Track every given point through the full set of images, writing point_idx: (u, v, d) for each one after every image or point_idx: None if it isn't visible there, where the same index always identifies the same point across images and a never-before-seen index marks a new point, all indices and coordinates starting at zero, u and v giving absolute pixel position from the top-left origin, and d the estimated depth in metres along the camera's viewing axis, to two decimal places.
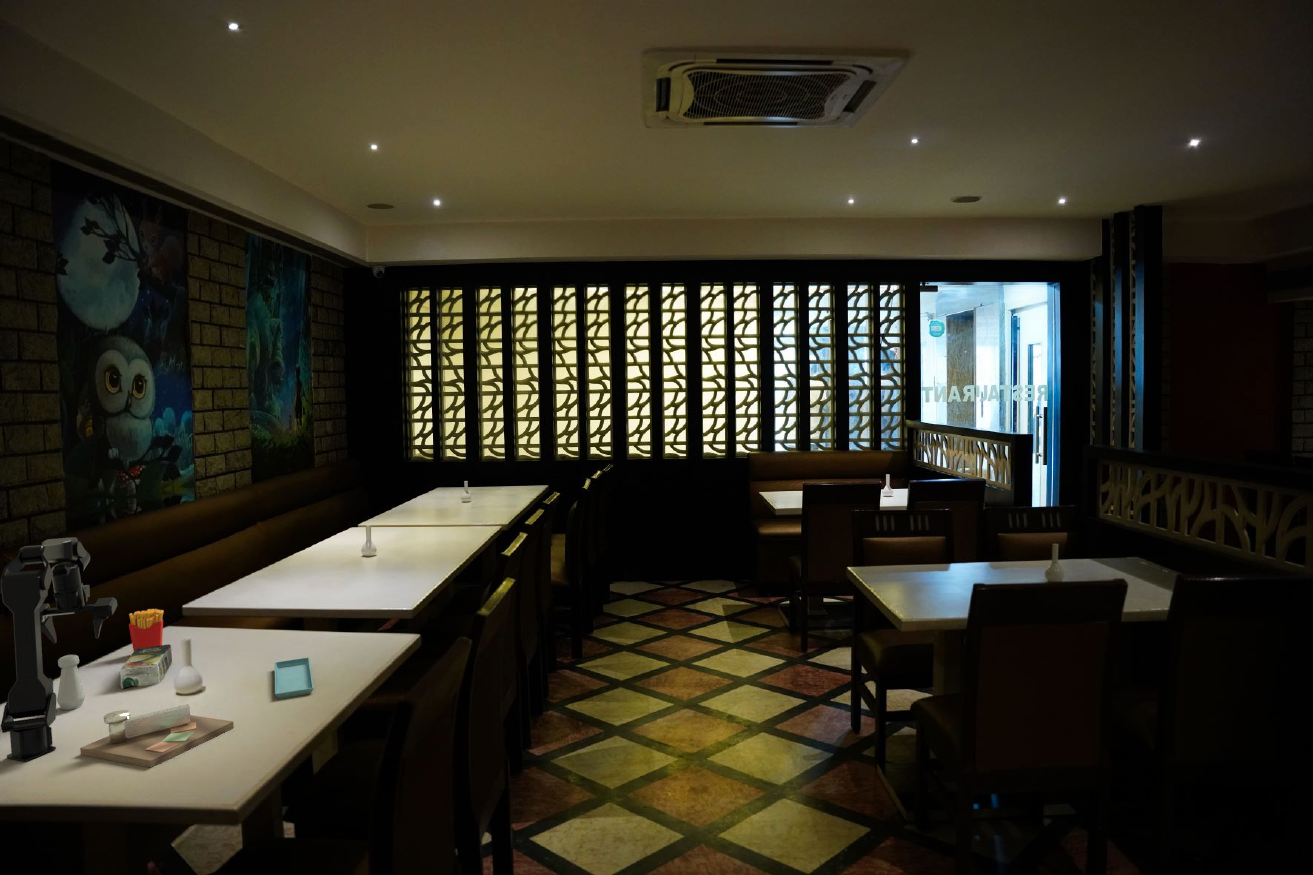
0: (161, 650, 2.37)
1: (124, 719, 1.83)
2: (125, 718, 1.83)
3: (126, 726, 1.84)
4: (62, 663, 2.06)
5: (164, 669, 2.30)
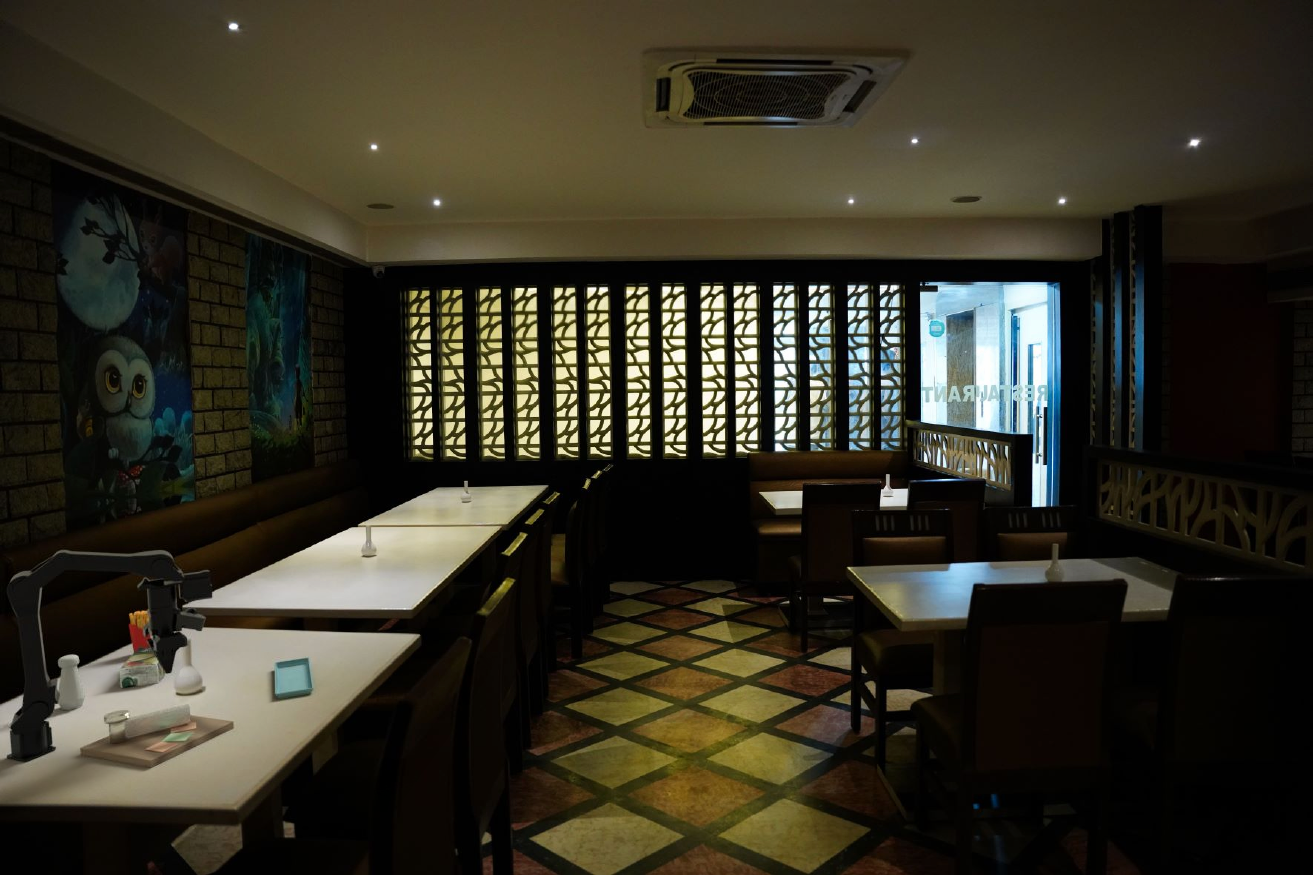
0: None
1: (124, 719, 1.83)
2: (125, 718, 1.83)
3: (126, 726, 1.84)
4: (62, 663, 2.06)
5: None
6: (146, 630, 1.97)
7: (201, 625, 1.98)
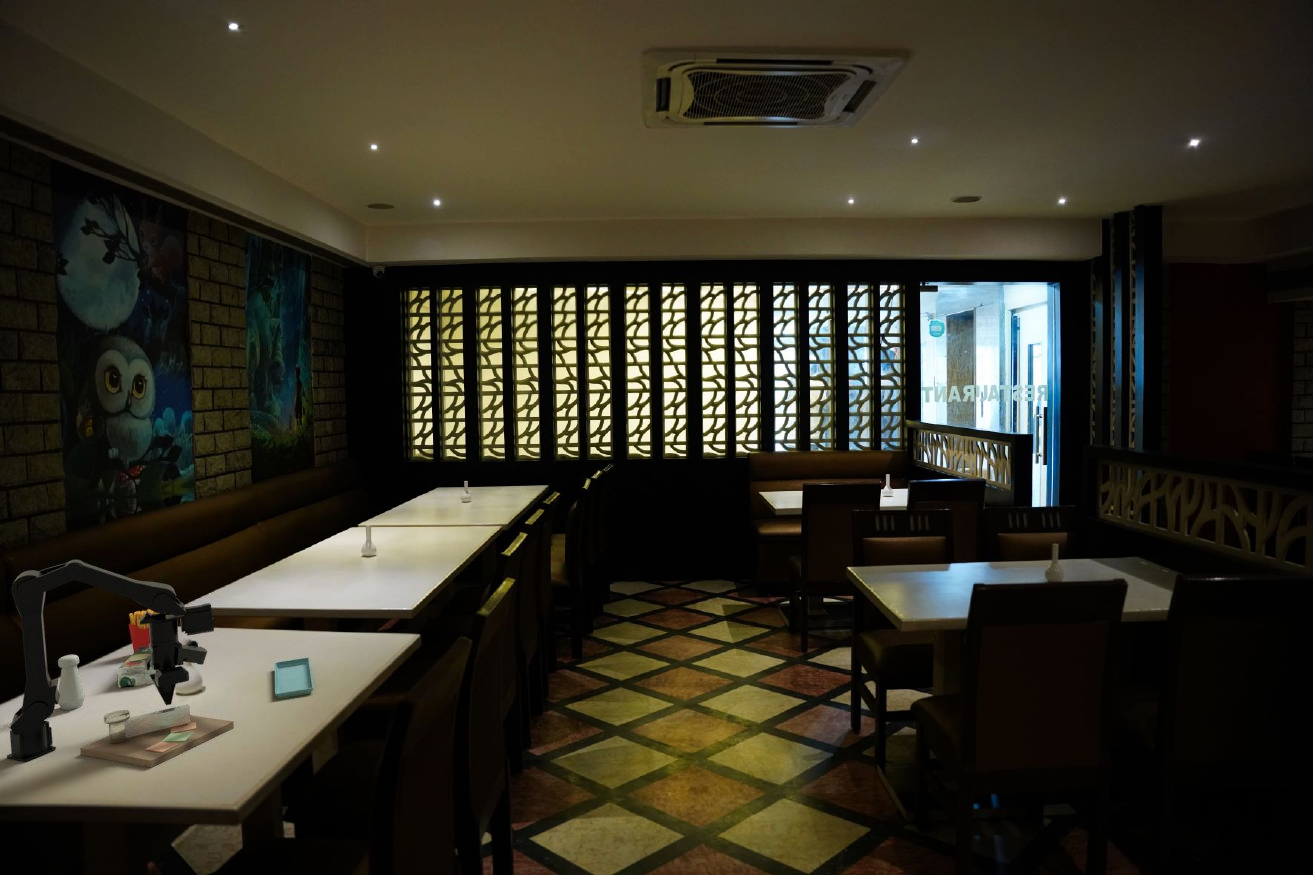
0: None
1: (124, 719, 1.83)
2: (125, 718, 1.83)
3: (126, 726, 1.84)
4: (62, 663, 2.06)
5: None
6: (148, 663, 1.97)
7: (203, 658, 1.98)
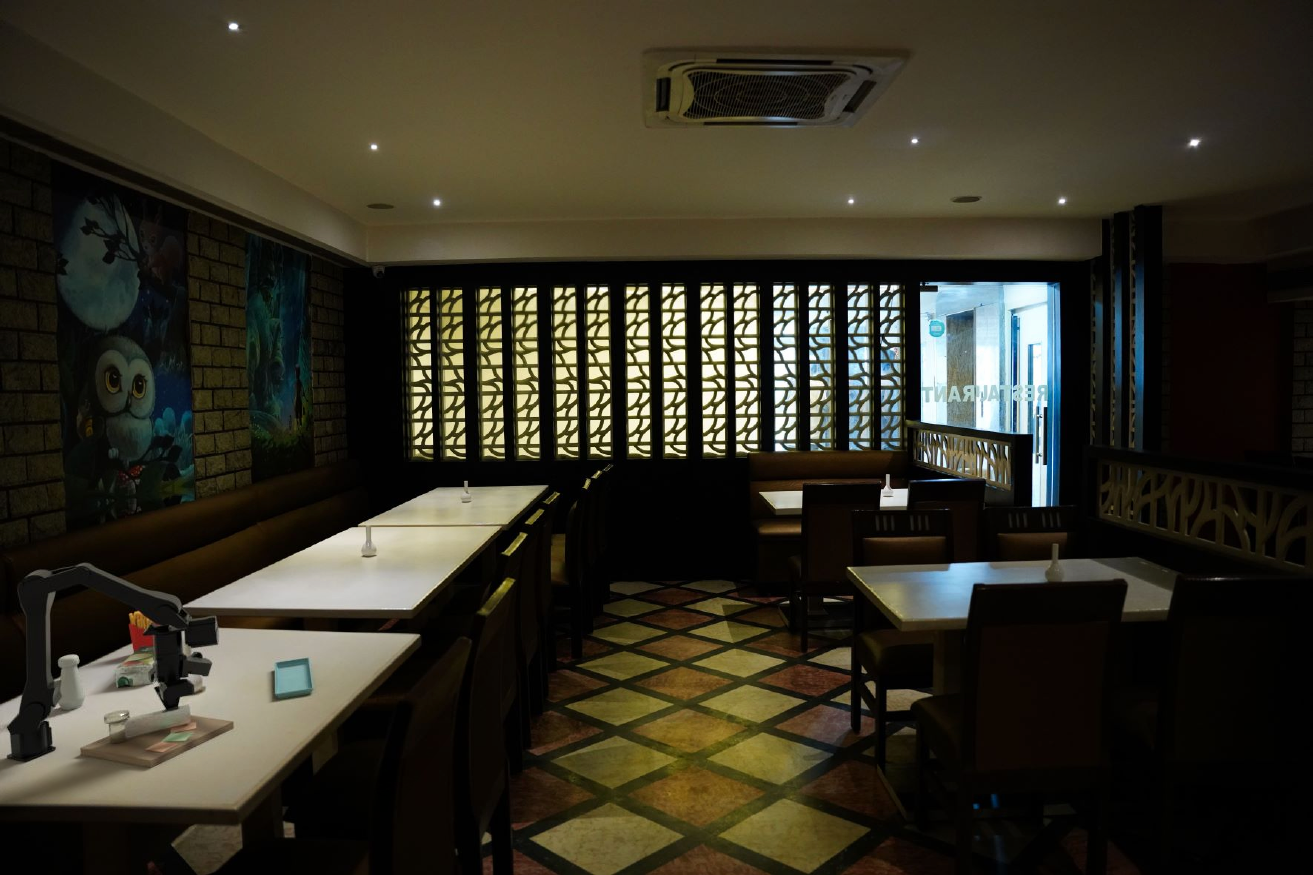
0: None
1: (124, 719, 1.83)
2: (125, 718, 1.83)
3: (126, 726, 1.84)
4: (62, 663, 2.06)
5: None
6: (152, 675, 1.94)
7: (208, 670, 1.95)
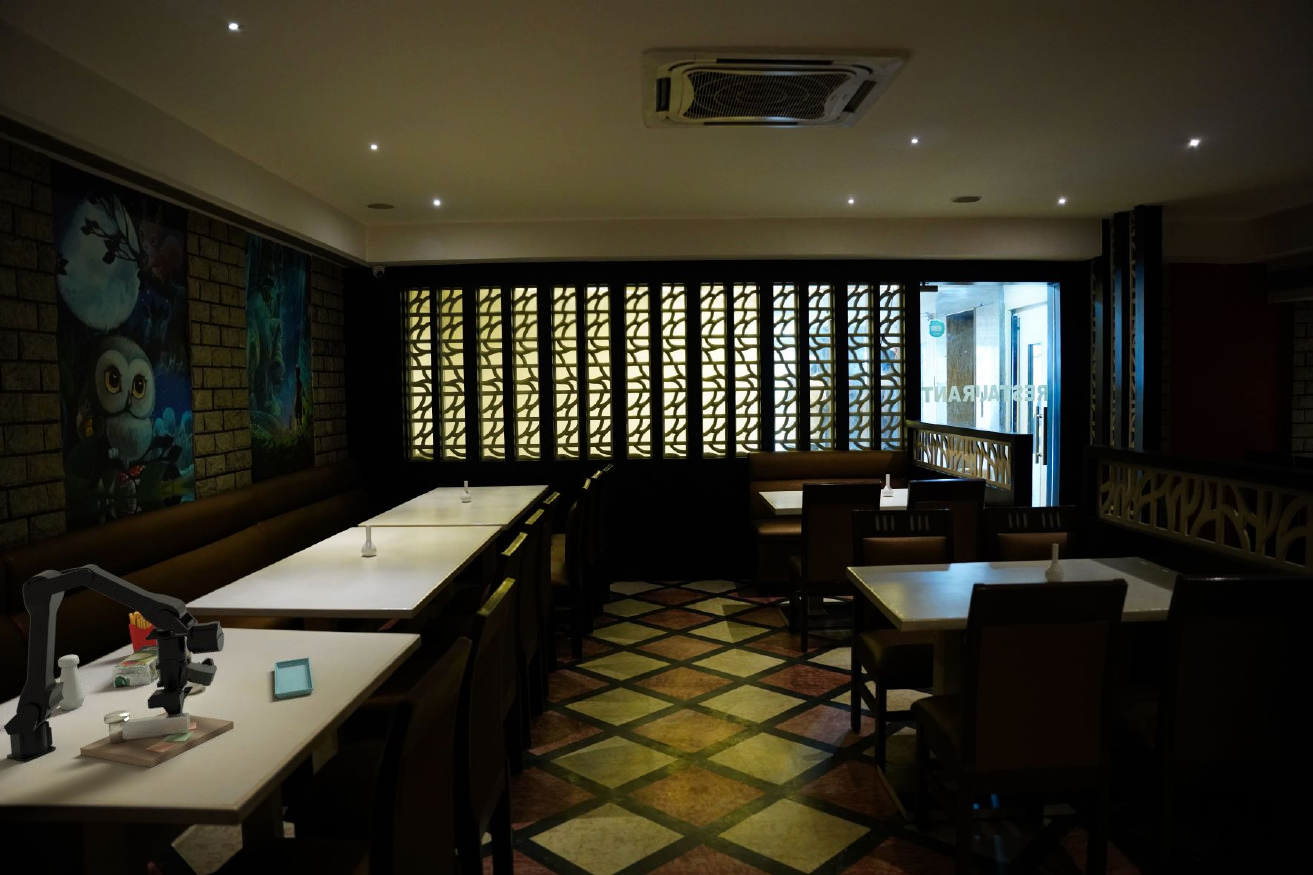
0: None
1: (119, 721, 1.82)
2: (120, 720, 1.82)
3: (123, 728, 1.83)
4: (62, 663, 2.06)
5: None
6: None
7: (207, 680, 1.88)
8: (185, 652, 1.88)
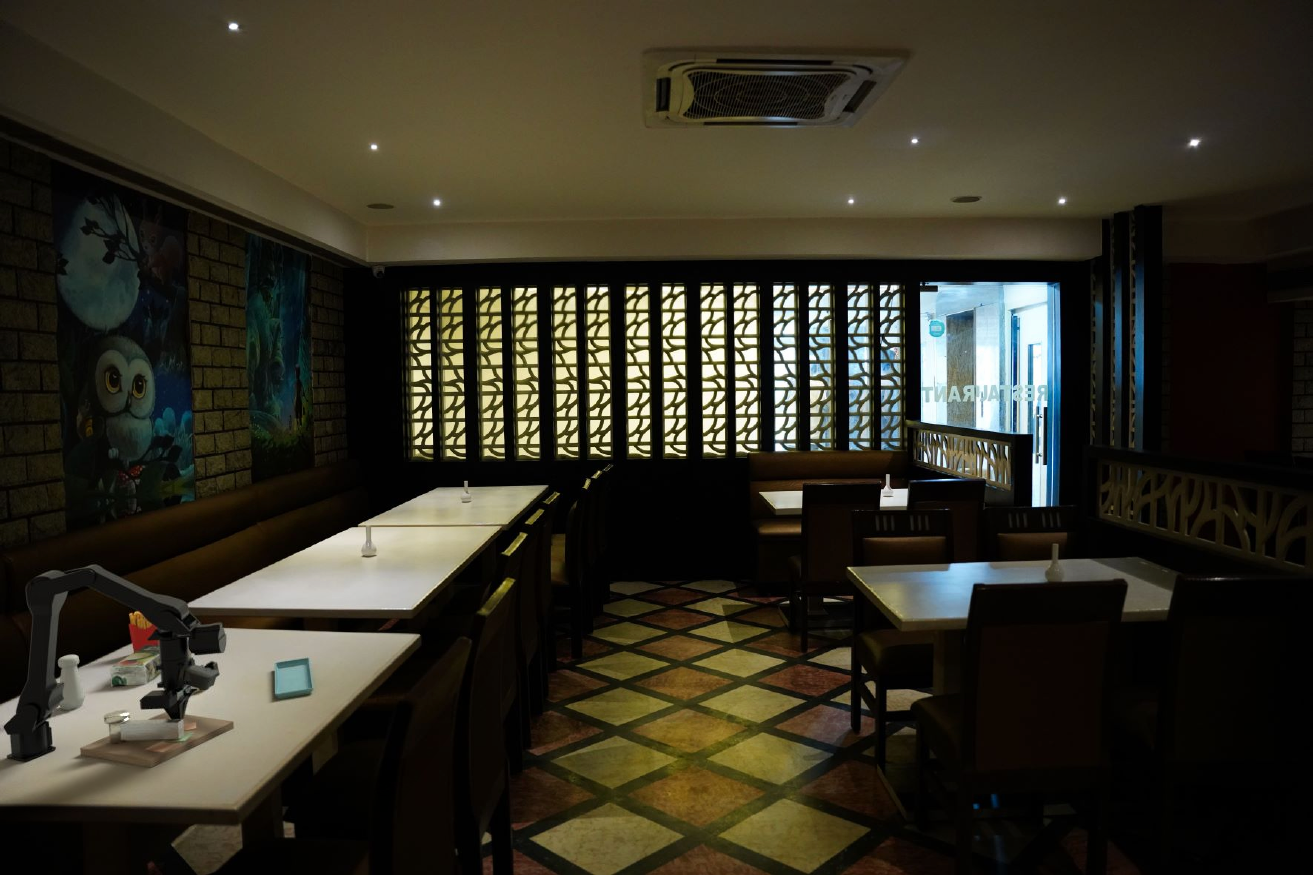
0: None
1: (115, 721, 1.81)
2: (117, 721, 1.82)
3: (121, 729, 1.83)
4: (62, 663, 2.06)
5: None
6: None
7: (204, 684, 1.86)
8: (187, 653, 1.88)
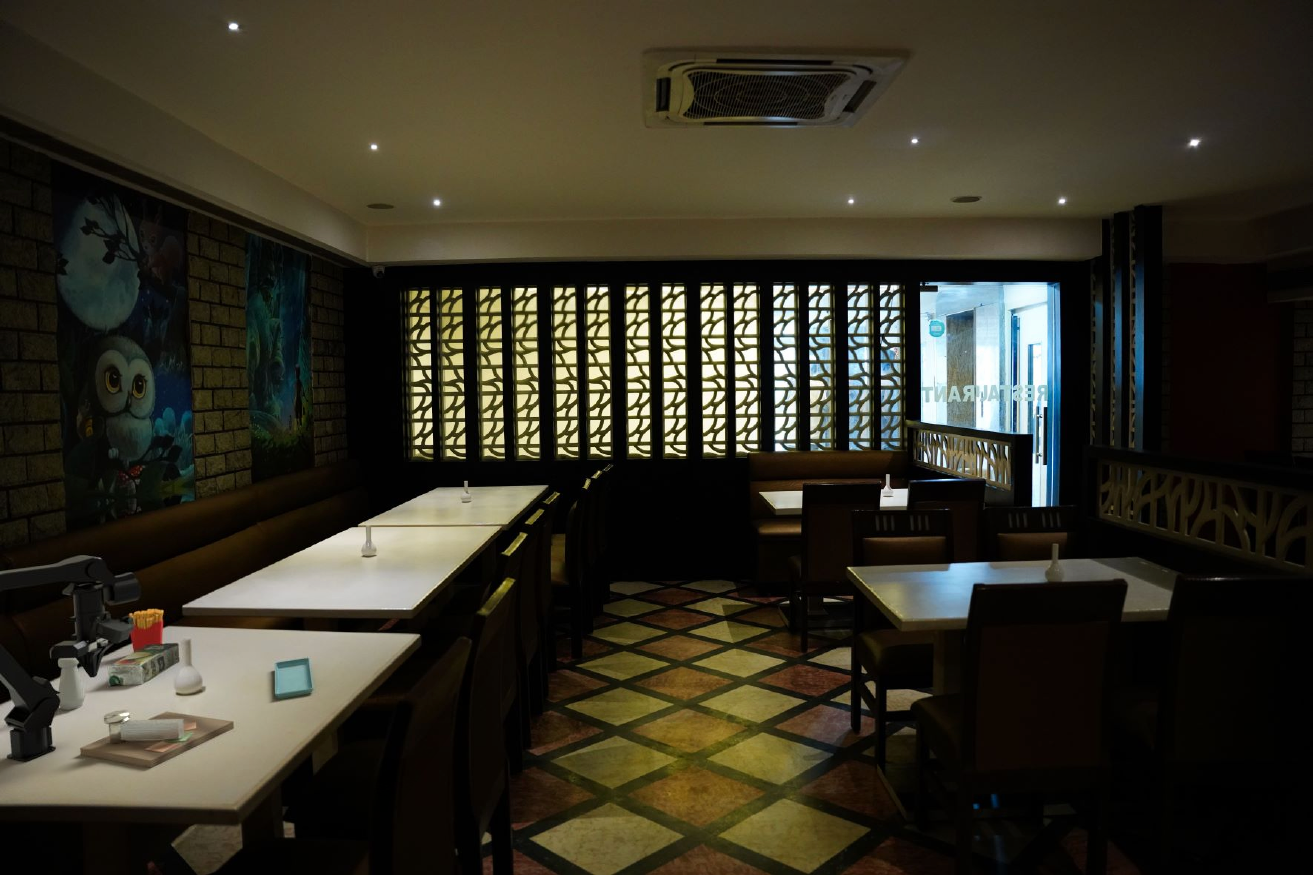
0: (162, 648, 2.38)
1: (115, 721, 1.81)
2: (117, 721, 1.82)
3: (121, 729, 1.83)
4: (62, 663, 2.06)
5: (154, 669, 2.30)
6: None
7: (116, 637, 1.90)
8: None
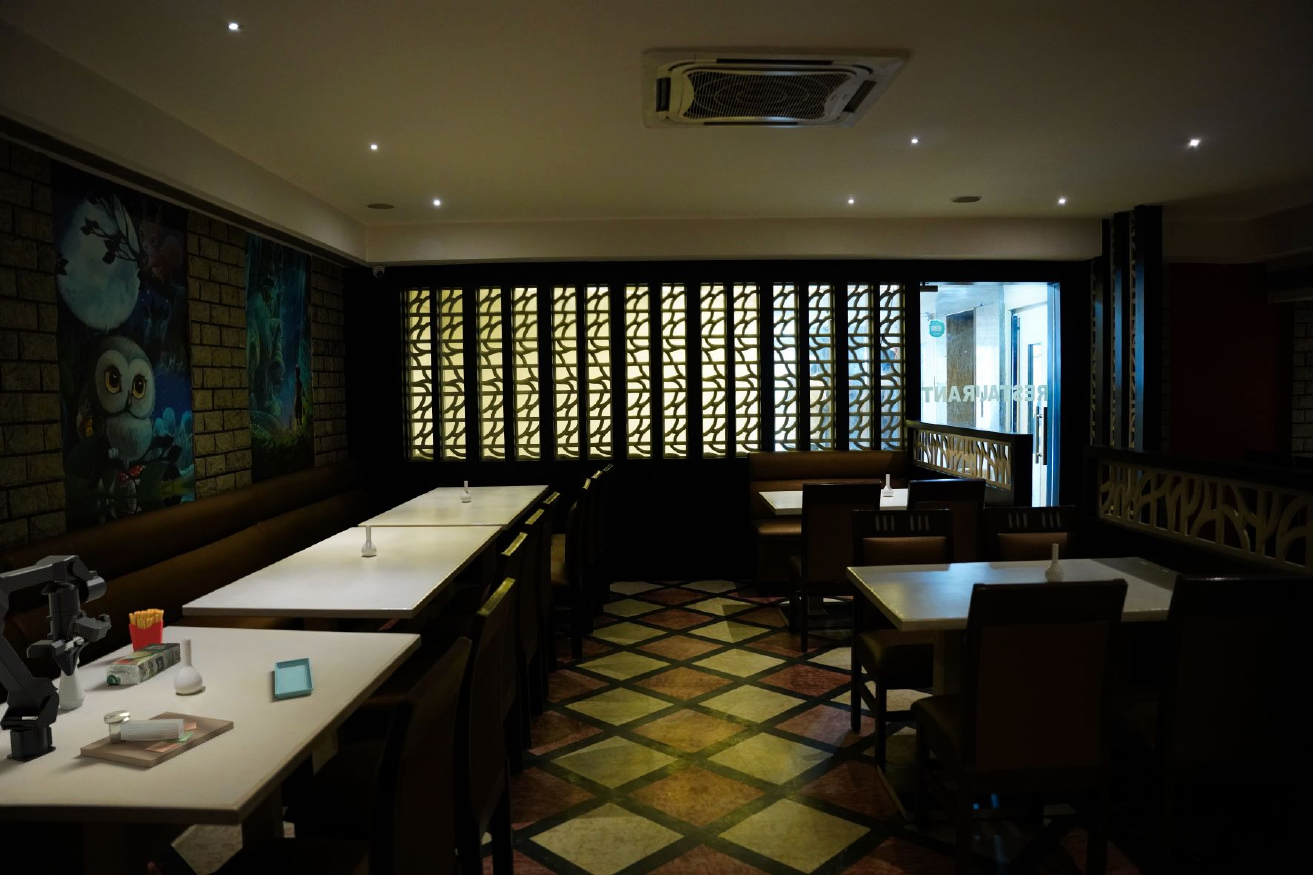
0: (163, 648, 2.38)
1: (115, 721, 1.81)
2: (117, 721, 1.82)
3: (121, 729, 1.83)
4: None
5: (152, 669, 2.30)
6: None
7: (93, 635, 1.91)
8: None
